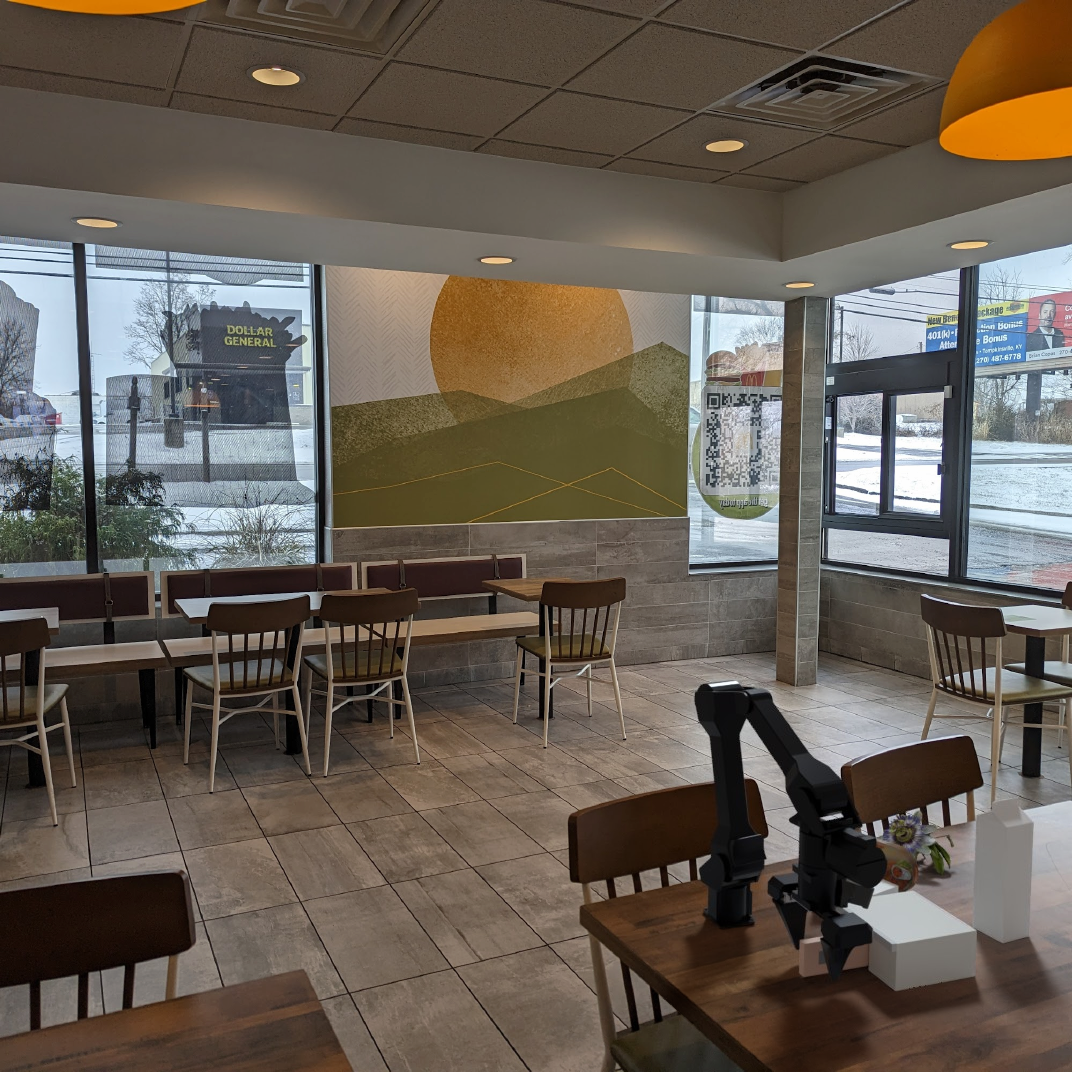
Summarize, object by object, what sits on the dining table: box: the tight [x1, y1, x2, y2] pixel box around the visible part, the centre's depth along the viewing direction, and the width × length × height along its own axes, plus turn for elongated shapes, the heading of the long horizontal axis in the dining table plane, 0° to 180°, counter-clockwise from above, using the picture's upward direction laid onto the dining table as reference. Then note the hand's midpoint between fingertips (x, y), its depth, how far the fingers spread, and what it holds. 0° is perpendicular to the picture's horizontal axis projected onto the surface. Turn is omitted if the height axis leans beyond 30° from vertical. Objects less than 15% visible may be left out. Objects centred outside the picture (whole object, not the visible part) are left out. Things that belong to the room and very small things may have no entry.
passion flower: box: [876, 810, 955, 875], centre depth 182 cm, size 11×11×12 cm
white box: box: [835, 890, 978, 992], centre depth 146 cm, size 15×14×7 cm
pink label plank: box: [798, 935, 869, 978], centre depth 144 cm, size 22×1×5 cm, turn 107°
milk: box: [971, 796, 1034, 944], centre depth 154 cm, size 6×6×22 cm
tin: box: [875, 837, 919, 893], centre depth 172 cm, size 15×3×8 cm, turn 41°
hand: (816, 964), depth 141 cm, fingers open, 9 cm apart
